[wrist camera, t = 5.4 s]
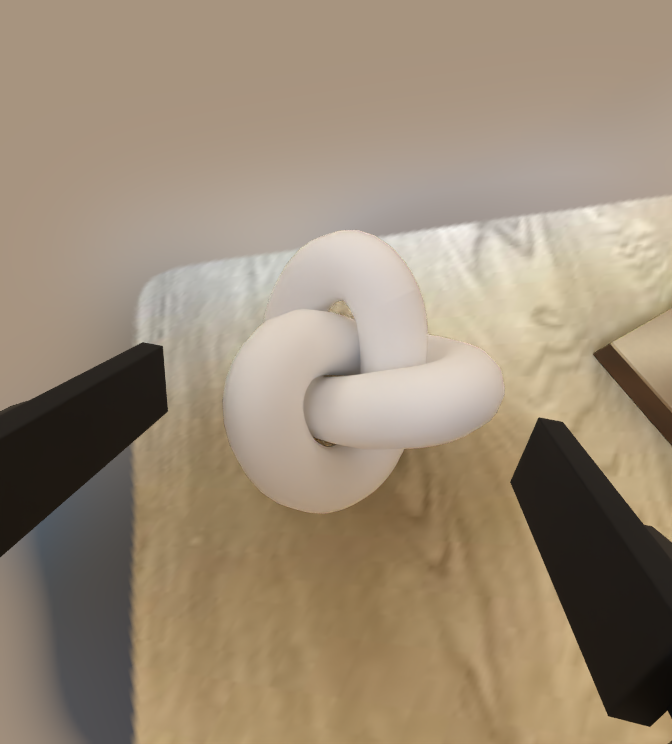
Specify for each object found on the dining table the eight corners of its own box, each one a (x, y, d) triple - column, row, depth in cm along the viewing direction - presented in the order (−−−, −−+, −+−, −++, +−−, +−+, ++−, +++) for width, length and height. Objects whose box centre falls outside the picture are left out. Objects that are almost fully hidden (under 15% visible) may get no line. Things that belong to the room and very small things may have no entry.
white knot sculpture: (394, 566, 18) (440, 621, 10) (201, 448, 20) (100, 407, 12) (478, 379, 21) (568, 297, 13) (305, 295, 23) (285, 178, 15)
